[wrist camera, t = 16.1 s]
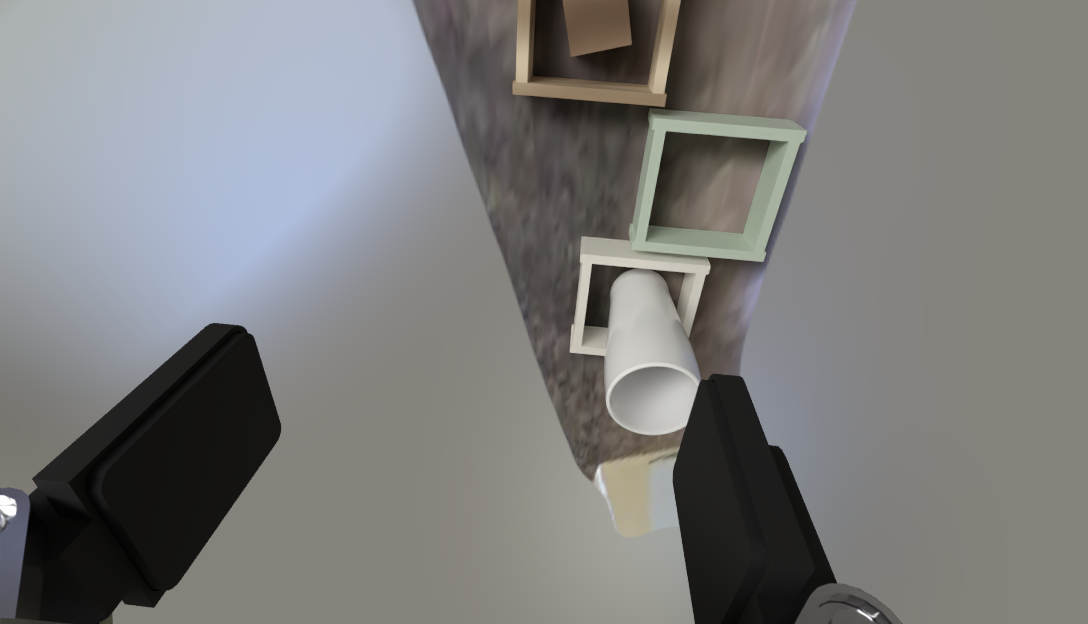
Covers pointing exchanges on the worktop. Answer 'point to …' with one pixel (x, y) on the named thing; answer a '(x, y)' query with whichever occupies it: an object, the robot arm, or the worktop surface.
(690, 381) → the white cup
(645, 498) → the worktop surface
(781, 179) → the sage frame
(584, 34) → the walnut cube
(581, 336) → the cream frame
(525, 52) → the beech frame
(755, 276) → the worktop surface
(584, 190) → the worktop surface
